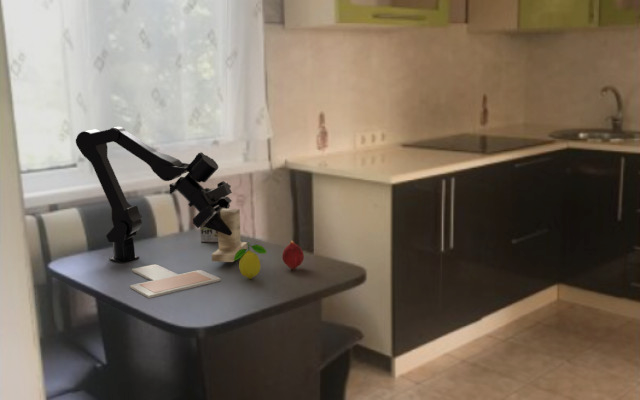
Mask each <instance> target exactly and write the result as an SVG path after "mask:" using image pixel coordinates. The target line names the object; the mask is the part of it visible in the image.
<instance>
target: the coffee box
mask: <svg viewBox="0 0 640 400" xmlns="http://www.w3.org/2000/svg"><path fill="white" fill-rule="evenodd" d="M215 188H216V187H215ZM215 188H209V189H210V190H213V189H215ZM221 198H222V197H221ZM205 224H206V222H204V223H203V224H202V226H201V227H199V228H200V230H199V231H200V242H201V243H206V242H207V243H209V242H216V243H217V242H218V231H215V230H212V229H209V228H206V227H205V228H204V227H203V226H204V225H205Z"/></svg>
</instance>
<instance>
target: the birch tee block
mask: <svg viewBox="0 0 640 400" xmlns="http://www.w3.org/2000/svg"><path fill="white" fill-rule="evenodd" d="M220 215H221V219H222V220H223V221H224V223H225V224H226V225H227V226H228V228H229V229H230V230H231V232H232V234H231V235H230V236H229V235H226V234H224V233H221V232H218V249H217V250H215V251H214V252H213V253H211V262H218V263H219V262H220V263H221V262H225V263H233V262H235V261H234V257H235V255H236V253H237V252H238V251H239V250H241V249H247V248H248V242H247V241H241V216H240V208H229V209H221V210H220ZM247 250H248V249H247Z"/></svg>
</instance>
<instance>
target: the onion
mask: <svg viewBox="0 0 640 400" xmlns="http://www.w3.org/2000/svg"><path fill="white" fill-rule="evenodd" d="M281 256H282V257H281V259H282V262H283V263H284V264H285V265H286V266H287V267H288V268H290V269H291V270H295V269H297V268H298V267H300V265H301V264H302V263H303V262H304V258H305V257H304V256H305V255H304V252H303V249H302V248H301V247H300V246H299V245H298V244H296V242H295V241H293V240H290V243H289V244H288V245H287V246H286V247H285V248H284V249H283V252H282V255H281Z"/></svg>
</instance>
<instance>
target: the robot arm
mask: <svg viewBox="0 0 640 400" xmlns="http://www.w3.org/2000/svg"><path fill="white" fill-rule="evenodd" d="M113 142H114V143H115V144H117V145H118V146H120V147H121V148H123V149H124V150H126V151H127V152H129V153H131V154H132V155H134V157H137V158H138V159H140V160H141V161H142V162H144V163H146V164H147V165H148V166H149V167H150V169H151V170H152V172H153V173H154V174H156V176H157V177H158V178H160V179H161V180H162V181H164V182H169V181H170V182H171V181H173V180H175V179H177V180H176V181H175V182H174V183H173V182H172V183H170V184H169V194H170V195H173V194H174V193H177V192H179V194H180V195H181V196H182V197H184V199H185V200H186V201H188V202H189V203H188V204H187V206H189V207H190V208H192V207H194V208H195V209H196V211H197V212H198V213H196V215H195V216H194V217H193V218H192V224H193V225H194V226H195V228H197V229H199V228H200V227H201V226H202V224H203V223H204V222H206V224H205V225H204V226H203V227H204V228H205V227H206V228H209V229H212V230H215V231H218V232H221V233H224V234H226V235H229V236H230V235H231V234H232V232H231V230H230V229H229V228H228V226H227V225H226V224H225V223H224V221H223V220H222V219H221V215H220V210H221V209H230V207H231V205H230V204H231V203H232V202H233V201H232V199H231V198H230V197H229V195H230V194H232V193H233V192H232V190H231V185H230V184H229V183H228V182H225V181H224V180H222V181H220V182H219V183H217V187H215V189H214V188H212V189H213V190H210V189H211V188H208V187H206V188H204V187H203V186H202V185H201V184H200V183H206V182H207V181H208V180H209V179H210V178H211V177H212V176H213V175H214V173H215V172H216V171H217V170H218V169H219V165H218V163H217V162H216V161H215V160H214V158H212V157H209V156H208V155H206V154H204V153H203V152H201V151H200V152H198V153H197V154H196V156H195V157H194V158H193V160H192V161H191V162H190V163H188V162H187V163H186V162H182V161H181V160H180V159H178V158H176V157H174V156H171V155H169V154H166V153H163V152H159V151H157V150H156V149H155V148H153V147H151V146H150V145H148V144H147V143H145V142H144V141H142V140H141V139H139V138H138V137H136V136H135V135H134V134H131V133H130V132H129V131H127V130H126V129H125V128H124V127H122V126H115V127H111V128H109V129H105V130H102V131H101V130H99V129H90V130H85V131H84V130H83V131H81V132H79V133H78V134H77V136H76V138H75V144H76V147H77V149H79V151H80V153H81V154H82V156H83V157H84V158H85V159H87V160H88V161H89V162H90V164H91V165H92V168H93V170H94V172H95V174H96V177H97V179H98V181H99V184H100V186H101V189H102V190H103V193H104V195H105V197H106V199H107V201H108V204H109V206H110V209H111V222H112V223H111V224H112V228H111V229H110V231H109V232H108V233H107V234H106V239H107V241H108V242H109V243H112V253H113V256H112V257H111V256H110V257H109V258H108V260H110V261H113V262H117V263H124V262H130V261H132V260H133V261H134V260H137V259H140V256H139V255H136V252H135V251H136V250H135V244H134V237H135V236H137V233H138V231H139V229H141V227H142V224H143V221H142V218H143V216H142V215H141V213H140V211H139V208H138V205H131V204H130V203H129V202H128V201H127V199H126V196H125V194H124V191H123V189H122V186H121V185H120V183H119V181H118V178H117V176H116V174H115V171H114V169H113V167H112V165H111V162H110V159H109V158H108V157H109V156H108V143H113ZM184 174H186V175H185V176H182V175H184ZM221 197H222V198H221Z"/></svg>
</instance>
